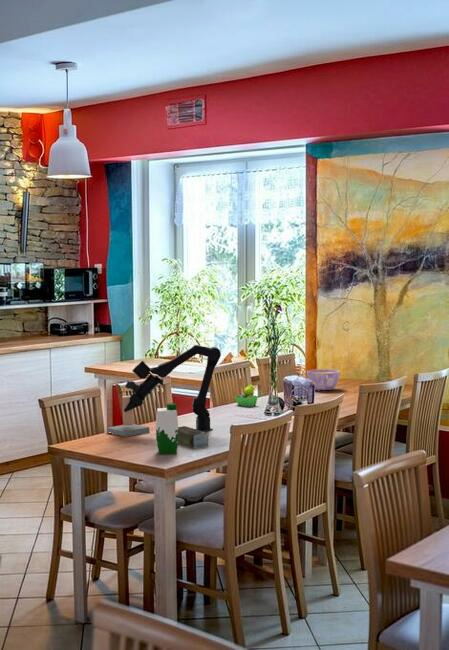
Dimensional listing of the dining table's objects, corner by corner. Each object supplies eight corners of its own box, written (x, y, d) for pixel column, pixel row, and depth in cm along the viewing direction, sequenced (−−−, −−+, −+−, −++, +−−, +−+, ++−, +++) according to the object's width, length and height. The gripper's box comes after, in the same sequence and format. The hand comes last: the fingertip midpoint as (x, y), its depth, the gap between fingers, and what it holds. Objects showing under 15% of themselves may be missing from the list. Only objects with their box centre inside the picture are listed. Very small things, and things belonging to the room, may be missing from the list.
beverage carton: (193, 449, 371) (193, 433, 370) (169, 442, 387) (169, 427, 386) (209, 446, 375) (208, 431, 375) (185, 439, 391) (184, 425, 391)
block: (133, 423, 411) (132, 395, 410) (132, 425, 406) (132, 397, 405) (123, 423, 411) (122, 396, 410) (123, 425, 406) (122, 397, 405)
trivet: (149, 432, 408) (149, 427, 408) (125, 436, 399) (124, 431, 399) (131, 428, 419) (131, 423, 418) (106, 433, 409) (106, 427, 409)
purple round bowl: (335, 393, 518) (335, 373, 518) (302, 392, 526) (302, 372, 525) (343, 388, 537) (343, 369, 536) (311, 387, 544) (311, 368, 543)
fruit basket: (234, 405, 482) (233, 384, 481) (245, 403, 488) (245, 383, 487) (248, 407, 474) (248, 386, 473) (260, 405, 480) (260, 384, 479)
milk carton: (178, 454, 360) (177, 405, 359) (156, 455, 359) (155, 406, 358) (178, 449, 369) (177, 402, 368) (156, 450, 368) (155, 403, 367)
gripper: (135, 371, 416) (113, 395, 416) (134, 376, 398) (110, 401, 398) (153, 387, 417) (130, 411, 417) (152, 393, 399) (128, 418, 399)
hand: (124, 410), depth 408 cm, fingers closed on block, 4 cm apart
